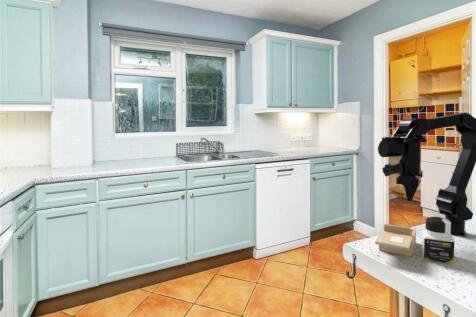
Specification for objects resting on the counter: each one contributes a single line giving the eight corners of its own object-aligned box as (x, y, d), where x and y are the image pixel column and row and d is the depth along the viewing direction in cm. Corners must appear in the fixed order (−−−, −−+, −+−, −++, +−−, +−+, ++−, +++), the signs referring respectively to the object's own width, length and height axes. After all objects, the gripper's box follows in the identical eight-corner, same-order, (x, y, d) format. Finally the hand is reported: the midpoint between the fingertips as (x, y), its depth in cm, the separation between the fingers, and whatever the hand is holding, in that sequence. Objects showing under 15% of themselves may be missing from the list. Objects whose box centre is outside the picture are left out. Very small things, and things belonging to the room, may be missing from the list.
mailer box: (385, 239, 102) (385, 225, 102) (415, 244, 97) (416, 229, 96) (378, 251, 92) (379, 236, 92) (411, 258, 87) (412, 241, 87)
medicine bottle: (423, 261, 85) (424, 220, 84) (421, 251, 91) (422, 213, 90) (453, 265, 82) (455, 223, 81) (449, 255, 88) (451, 216, 87)
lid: (382, 231, 96) (382, 223, 95) (413, 236, 91) (413, 227, 90) (374, 243, 86) (375, 234, 86) (408, 250, 81) (409, 240, 81)
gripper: (388, 152, 112) (388, 193, 114) (379, 158, 97) (378, 204, 99) (423, 153, 106) (422, 196, 107) (419, 159, 91) (417, 208, 92)
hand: (409, 200), depth 101 cm, fingers closed
